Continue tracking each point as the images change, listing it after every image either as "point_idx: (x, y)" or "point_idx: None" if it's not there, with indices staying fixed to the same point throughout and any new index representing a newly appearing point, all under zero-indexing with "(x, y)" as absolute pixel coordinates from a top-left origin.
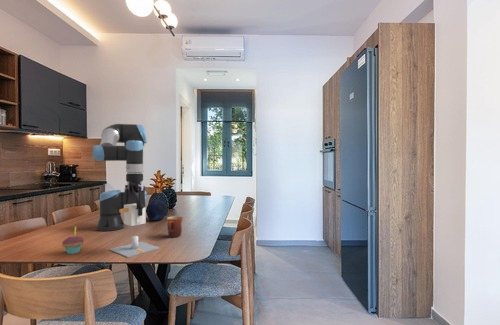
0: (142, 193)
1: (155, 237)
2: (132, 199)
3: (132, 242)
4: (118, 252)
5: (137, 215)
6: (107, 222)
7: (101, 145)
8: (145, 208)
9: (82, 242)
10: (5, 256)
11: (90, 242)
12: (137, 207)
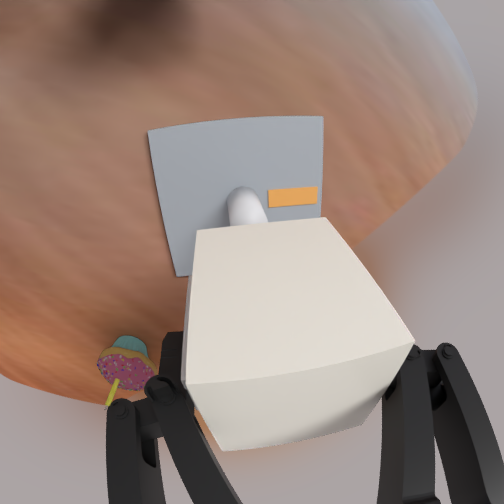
0: (486, 469)
1: (113, 39)
2: (221, 476)
3: None
4: None
5: None
6: None
7: None
8: (389, 303)
9: (141, 358)
10: (99, 403)
11: (43, 289)
12: (391, 388)
